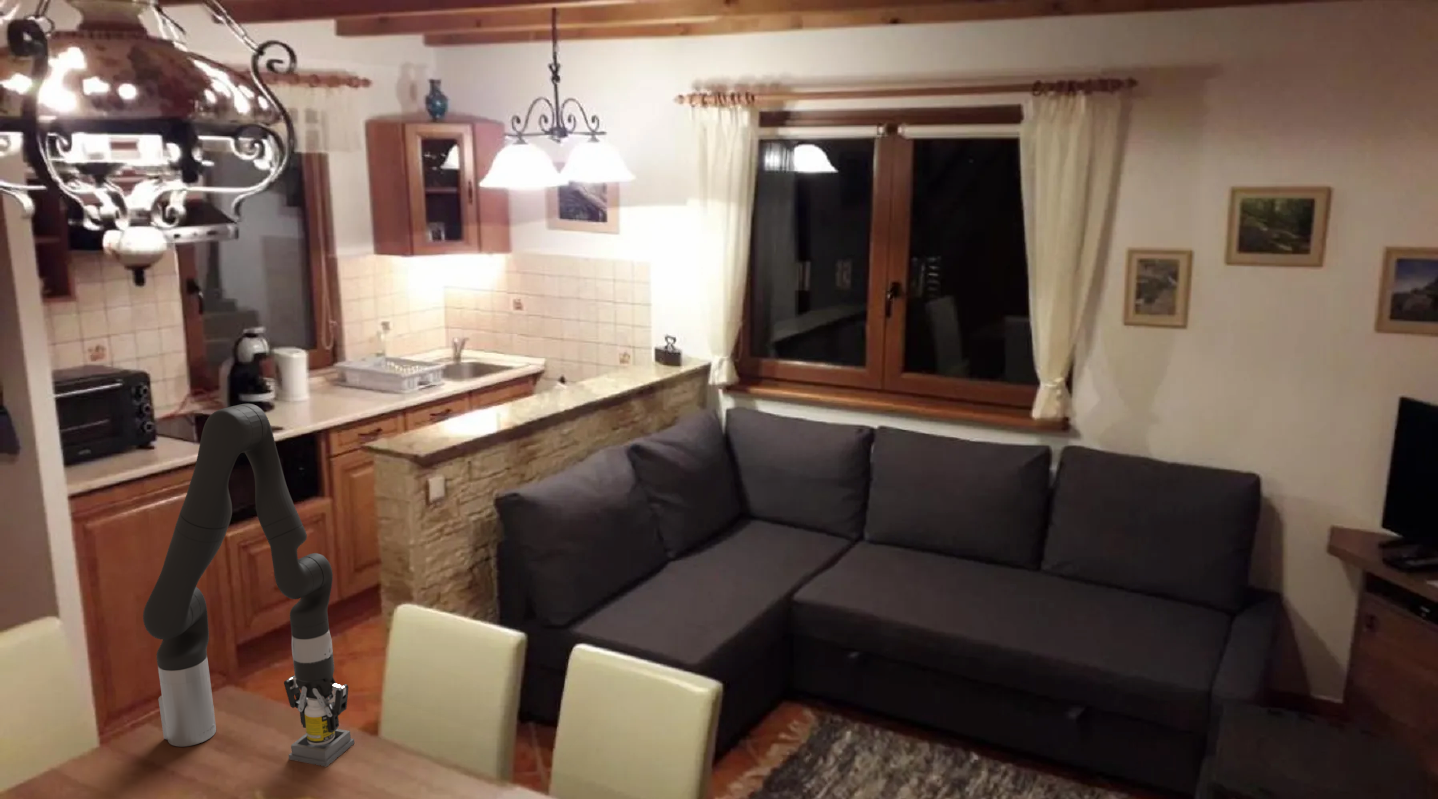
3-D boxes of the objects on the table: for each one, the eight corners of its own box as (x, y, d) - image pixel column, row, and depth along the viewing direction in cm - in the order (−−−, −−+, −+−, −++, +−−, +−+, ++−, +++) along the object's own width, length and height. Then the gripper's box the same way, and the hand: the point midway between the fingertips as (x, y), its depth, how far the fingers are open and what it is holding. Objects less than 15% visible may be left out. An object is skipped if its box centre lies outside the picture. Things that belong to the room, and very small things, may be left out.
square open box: (289, 759, 217) (287, 746, 216) (317, 736, 225) (316, 723, 224) (326, 766, 214) (325, 753, 213) (354, 743, 222) (353, 730, 222)
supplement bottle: (326, 747, 216) (321, 703, 214) (302, 745, 217) (297, 701, 215) (340, 733, 221) (336, 690, 219) (316, 730, 222) (312, 688, 220)
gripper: (269, 656, 213) (278, 732, 217) (331, 665, 209) (339, 743, 213) (294, 639, 220) (302, 714, 224) (354, 648, 216) (361, 724, 220)
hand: (320, 728), depth 219 cm, fingers closed on supplement bottle, 5 cm apart
